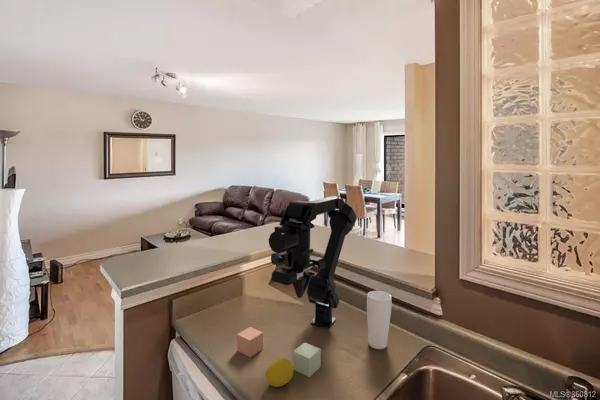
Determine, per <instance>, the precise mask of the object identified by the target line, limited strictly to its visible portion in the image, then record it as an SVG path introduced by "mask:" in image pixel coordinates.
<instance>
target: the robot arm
mask: <svg viewBox="0 0 600 400" xmlns="http://www.w3.org/2000/svg"><path fill="white" fill-rule="evenodd" d="M325 213H326V215H327V217H329V227H330V231H331V232H330V234H329V239H328V242H327V245H326V248H325V252H324V255H323V257H319V256H314V255H311V253H313V252H314V248H313V247H311V229H314V228H315V224H314V223H312V222H313V221H314V220H316V219H317V216H319V215H323V214H325ZM356 222H357V215H356V212H355V211H354V209H353V208H352V206H351V205H349V204H348V203H346V202H345V201H344V198H343V197H340V196H333V195H332V196H331V195H330V196H327V197H325V198H318V199H316V200H311V201H301V200H292V201H289V202H288V205H287V206H286V209H285V211H284V213H283V215H282V217H281V220H280V222H279V226H274V231H273V232H271V233H270V235H269V238H268V245H269V248H270V249H271V250H272V251H273V253H271V255H270V262H271V264H272V265H275V267H279V266H282V265H285V267H279V268H277V269H274V270H273V271H272V272H271V281H272V282H274V283H278V284H281V285H284V286H289V285H292V286H293V288H294V292H295V294H296V295H295V296H297V297H296V298H298V299H302V298H303V296H304V293H305V292H306V294H307V299H308V302H309V303H310V304H314V317H313V319H312V320H310V324H312V325H317V326H320V327H324V328H327V329H328V328H330V327H331V326H332V325H333V324H334V323H335V321H336V320H337V318H336V317H334V316H333V309H337V308H338V306H339V303H340V297H339V295H337V294H336V288H337V287H336V283H335V279H334V277H335V272H336V269H337V266H338V262H339V260H340V259H339V258H340V255H341V251H342V248H343V245H344V241H345V238H346V236H347V235H348V234H349V233H350V232H352V230H353V228H354V226H355V223H356ZM315 266H317V268H318V272H317V274H315V272H312V271H311V268H314V267H315Z"/></svg>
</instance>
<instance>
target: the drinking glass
mask: <svg viewBox="0 0 600 400" xmlns="http://www.w3.org/2000/svg"><path fill="white" fill-rule="evenodd" d="M366 296H367V297H366V316H367V317H366V318H367V321H366V322H367V338H368V339H367V343H368V345H369V346H370V347H371V348H373V349H374V350H384V349H386V348H387V346H388V338H389V330H390V324H391V323H390V321H391V316H392V305H393V304H392V303H393V302H392V301H393V300H392V295H391V294H390V293H389V292H386V291H384V290H372V291H369V292H367V295H366Z"/></svg>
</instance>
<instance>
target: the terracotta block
mask: <svg viewBox="0 0 600 400" xmlns="http://www.w3.org/2000/svg"><path fill="white" fill-rule="evenodd" d="M236 342H237V343H236V345H237V346H236V348H237V349H236V351H237V352H239V353H241V354H243V355H244V356H247V358H251V357H253V356H255V355H256V354H258V353H260V351H262V350H264V333H263V331H261V330H259V329H256V328H254V327H251V326H249V327H247V328H246V329H244V330H242V331H240V332H238V333H237V334H236Z"/></svg>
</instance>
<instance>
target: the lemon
mask: <svg viewBox="0 0 600 400" xmlns="http://www.w3.org/2000/svg"><path fill="white" fill-rule="evenodd" d="M294 371H295V370H294V369H293V362H291V361H290V360H289V359H287V358H284V357H281V358H278V359H276V360H274V361H272V362H271V363H270V365H269V366H268V367H267V369H266V373H265V375H266V376H265V377H266V381H267V383H268V384H269V385H271V386H272V387H275V388H279V387H283V386H285V385H286V384H287V383H289V382H290V381H291V379H292V378H293V376H294Z"/></svg>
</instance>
